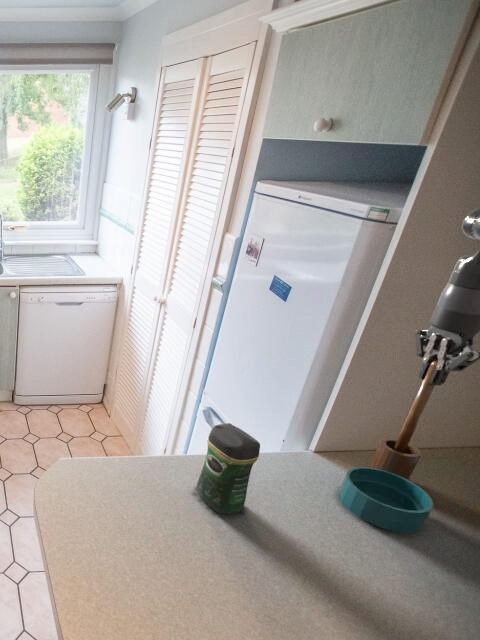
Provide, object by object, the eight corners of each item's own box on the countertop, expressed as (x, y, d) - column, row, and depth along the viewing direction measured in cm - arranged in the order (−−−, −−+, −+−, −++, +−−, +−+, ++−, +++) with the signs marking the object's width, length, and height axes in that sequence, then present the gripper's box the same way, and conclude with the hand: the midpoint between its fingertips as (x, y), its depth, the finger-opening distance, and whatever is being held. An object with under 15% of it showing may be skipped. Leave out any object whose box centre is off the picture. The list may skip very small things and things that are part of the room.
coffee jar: (249, 512, 100) (271, 442, 92) (219, 519, 98) (239, 448, 90) (217, 483, 108) (234, 417, 101) (188, 489, 106) (204, 422, 99)
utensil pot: (390, 468, 113) (404, 438, 109) (414, 488, 106) (430, 457, 102) (360, 467, 113) (372, 437, 109) (382, 487, 106) (396, 456, 103)
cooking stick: (399, 450, 107) (439, 359, 98) (406, 455, 106) (448, 363, 96) (390, 449, 108) (429, 359, 98) (397, 455, 106) (438, 363, 96)
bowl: (386, 488, 106) (396, 467, 104) (440, 536, 93) (453, 514, 91) (323, 486, 107) (331, 465, 105) (368, 533, 94) (378, 511, 92)
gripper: (518, 318, 86) (478, 398, 92) (451, 296, 98) (420, 367, 105) (476, 318, 86) (439, 397, 93) (415, 296, 99) (386, 367, 106)
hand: (429, 381), depth 99 cm, fingers closed on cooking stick, 2 cm apart
